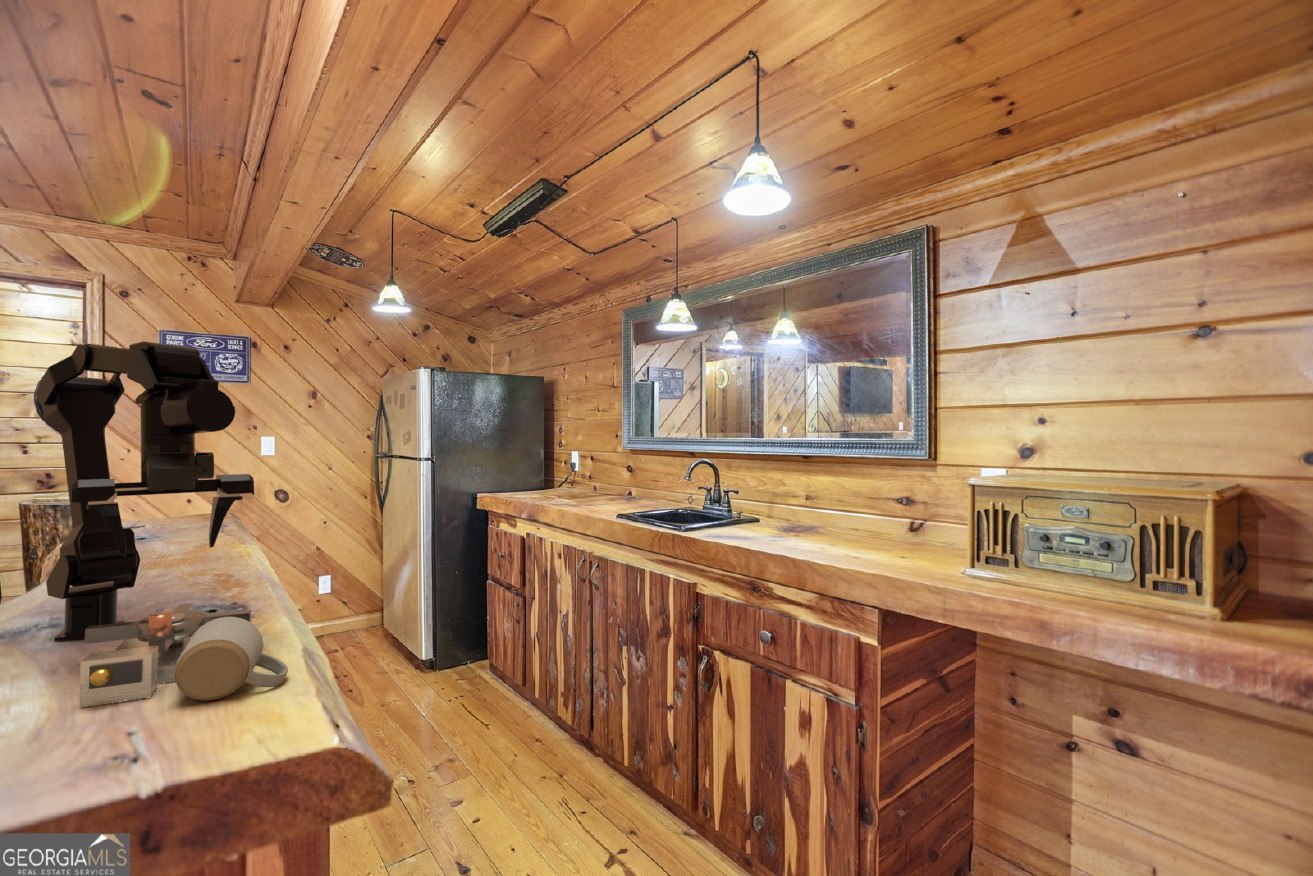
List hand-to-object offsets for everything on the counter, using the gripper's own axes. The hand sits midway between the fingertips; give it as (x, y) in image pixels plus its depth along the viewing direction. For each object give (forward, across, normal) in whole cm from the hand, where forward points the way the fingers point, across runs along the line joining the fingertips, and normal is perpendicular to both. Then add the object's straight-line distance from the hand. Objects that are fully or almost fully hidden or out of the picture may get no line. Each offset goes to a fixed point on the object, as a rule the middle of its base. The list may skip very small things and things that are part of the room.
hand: (169, 551), depth 81 cm
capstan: (+11, 0, -2) cm, 11 cm away
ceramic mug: (+15, +5, -17) cm, 24 cm away
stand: (+14, -1, -5) cm, 15 cm away
